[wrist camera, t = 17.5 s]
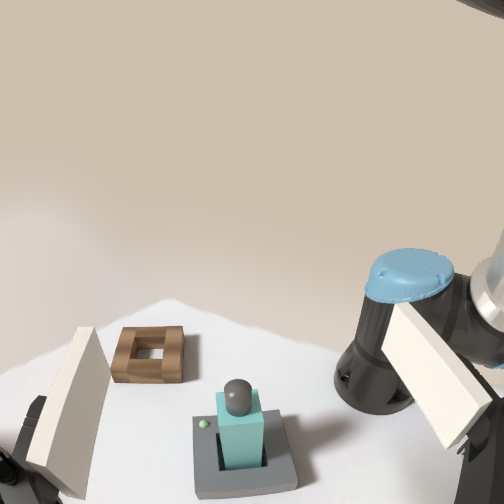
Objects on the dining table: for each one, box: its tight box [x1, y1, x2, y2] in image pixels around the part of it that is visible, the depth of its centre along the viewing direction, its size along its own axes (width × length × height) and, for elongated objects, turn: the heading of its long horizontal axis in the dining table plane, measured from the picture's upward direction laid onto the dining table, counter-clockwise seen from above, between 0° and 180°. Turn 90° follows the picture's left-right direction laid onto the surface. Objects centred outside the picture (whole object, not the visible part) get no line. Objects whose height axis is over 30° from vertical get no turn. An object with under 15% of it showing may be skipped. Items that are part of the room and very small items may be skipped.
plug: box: [216, 379, 264, 471], centre depth 30 cm, size 4×4×16 cm
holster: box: [110, 326, 184, 383], centre depth 50 cm, size 12×12×3 cm
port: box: [193, 409, 298, 499], centre depth 32 cm, size 12×12×4 cm
